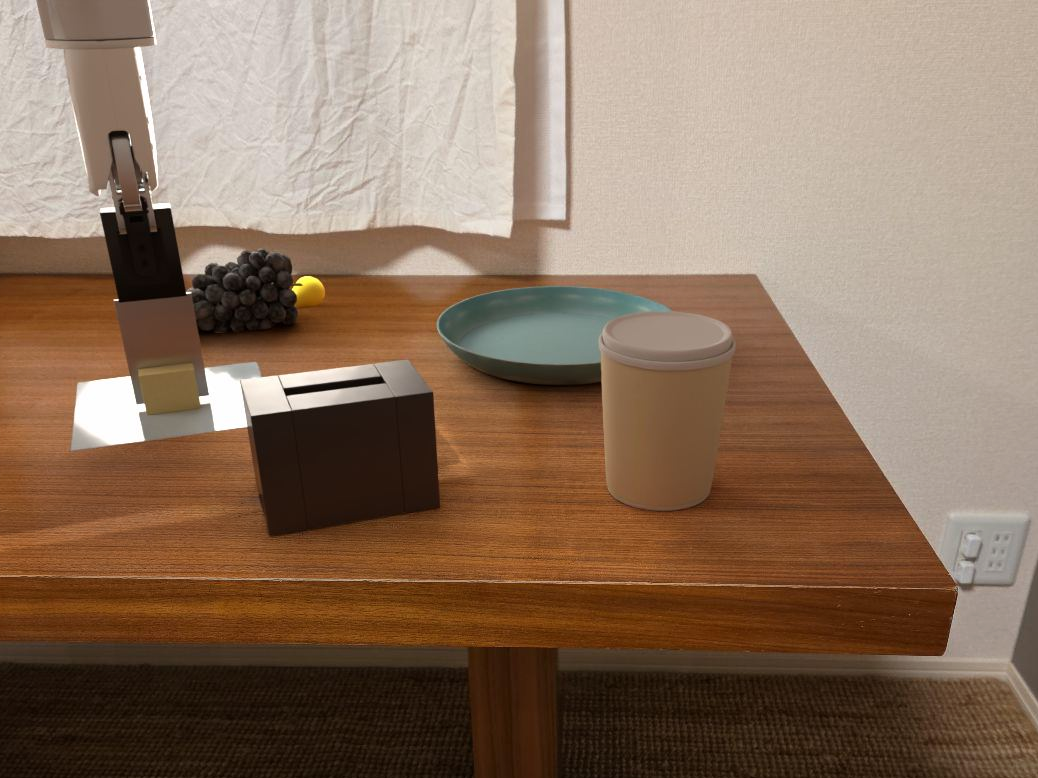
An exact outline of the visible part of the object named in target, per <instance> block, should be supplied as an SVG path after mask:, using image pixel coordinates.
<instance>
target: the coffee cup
mask: <svg viewBox="0 0 1038 778" xmlns="http://www.w3.org/2000/svg"><path fill="white" fill-rule="evenodd" d="M736 347H737V343H736V339H735V338H734V336H733V331H732V330H731V328H730V327H729V326H728V325H727V324H726V323H724V322H722V321H720V320H718V319H717V318H713V317H710V316H706V315H703V314H697V313H691V312H685V311H673V310H672V311H652V312H640V313H633V314H628V315H624V316H621V317H618V318H615V319H613V320H611V321H610V322H608V323H607V324H606V325H605V327H604V329H603V333H602V334H601V335H600V337H599V349H600V351H601V380H602V382H601V403H602V405H601V406H602V422H603V423H602V425H603V426H602V427H603V446H604V447H603V448H604V466H605V482H606V488H607V490H608V492H609V494H610V495H611V496H612V497H613V498H614V499H615V500H617V501H618V502H620V503H622V504H625V505H626V506H629V507H633V508H636V509H640V510H644V511H645V510H646V511H653V512H654V511H656V512H657V511H658V512H670V511H679V510H685V509H689V508H692V507H695V506H697V505H699V504H701V503H703V502H704V501H705V500H706V499H707V498H708V497H709V495H710V494H711V490H712V485H713V481H714V475H715V469H716V463H717V458H718V457H717V456H718V451H719V446H720V440H721V439H720V438H721V433H722V426H723V421H724V420H723V419H724V415H725V409H726V402H727V394H728V390H729V389H728V388H729V383H730V378H731V377H730V376H731V369H732V363H733V356H734V355H735V352H736Z"/></svg>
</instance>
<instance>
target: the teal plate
mask: <svg viewBox="0 0 1038 778" xmlns="http://www.w3.org/2000/svg"><path fill="white" fill-rule="evenodd" d="M652 311H673V309H671V308H669V307H668V306H666V305H664V304H662V303H660V302H658V301H656V300H653V299H650V298H648V297H644V296H641V295H637V294H633V293H629V292H623V291H618V290H614V289H607V288H599V287H589V286H577V285H574V286H573V285H541V286H527V287H515V288H507V289H499V290H496V291H490V292H486V293H481V294H477V295H475V296H471V297H468V298H466V299H463V300H461V301H459V302H456V303H454V304H452V305H451V306H449V307H447V308H446V309H444V311H443V312H441V314H440V315H439V316H438V318H437V320H436V329H437V332H438V334H439V336H440V338H441V340H442V341H443V343H444V344H445V345H446V347H447V348H448V349H449V350H450V352H452V353H453V354H454V355H455V356H456V357H458V358H459V359H460V360H461V361H463V362H464V363H466V364H467V365H469V366H471V367H472V368H474V369H476V370H478V371H480V372H482V373H485V374H487V375H489V374H490V376H492V377H495V378H498V379H503V380H506V381H511V382H516V381H517V383H522V382H523V384H530V383H531V385H544V386H578V385H579V386H581V385H589V384H596V383H598V384H599V383H602V380H601V351H600V349H599V337H600V335H601V334H602V333H603V329H604V327H605V325H606V324H607V323H608V322H610V321H611V320H613V319H615V318H618V317H621V316H624V315H628V314H633V313H640V312H652Z"/></svg>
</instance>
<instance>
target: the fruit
mask: <svg viewBox="0 0 1038 778" xmlns="http://www.w3.org/2000/svg"><path fill="white" fill-rule="evenodd" d="M292 273H293V263H292V259H291V257H289V256H288V255H286V254H285V253H280V252H277V251H271V252H270V251H269V250H268V249H266V248H262V247H260V248H258V249H256V250H255V251H251V250H249V249H245V250H243V251H241V253H240V254H239V255H238V257H237V258H236V262H234V261H228V262H227V263H226V264H225V265H220V264H218V263H217V262H210V263H208V264H207V265H206V266H205V267H204V273H197V274H195V275H193V276H192V279H191V285H192V287H189V288H188V289H187V290H186V293H188V292H191V295H192V300H193V306H194V312H195V317H196V323H197V328H198V332H199V331H206V332H208V331H209V332H210V331H212V332H213V333H214V334H215V333H216V334H222V333H228V332H229V331H230V329H231V330H232V331H233V332H236V333H239V332H243V331H244V330H245V329H248V330H250V331H256V330H268V329H272V328H274V327H275V326H276V324H279V323H282V324H283V325H284V326H291V325H293V324H296V322H297V321H298V314H299V312H298V308H296V306H295V303H296V302H297V295H296V294H295V292H294V291H293V290H292V289H291V287H294V286H303V285H302V284H301V283H297V282H294V279H293V276H292Z"/></svg>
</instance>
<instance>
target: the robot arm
mask: <svg viewBox="0 0 1038 778" xmlns="http://www.w3.org/2000/svg"><path fill="white" fill-rule="evenodd" d="M35 1H36V5H37V11H38V14H39V19H40V25H41V28H42V33H43V38H44V42H45V47H46V48H47V49H49V48H50V49H55V50H56V49H57V50H58V49H59V50H63V59H64V65H65V66H64V67H65V71H66V79H67V84H68V90H69V95H70V101H71V106H72V112H73V115H74V120H75V125H76V130H77V134H78V139H79V143H80V148H81V153H82V159H83V162H84V163H83V164H84V168H85V173H86V178H87V184H88V189H89V192H90V193H91V194H92V195H94V196H95V197H100V196H101V191H103V190H107V189H108V184H109V187H110V193H111V199H112V202H113V207H115V212H116V217H117V222H118V226H119V231H120V233H117V236H118V241H119V246H120V251H121V256H122V260H123V265H124V270H125V275H126V280H127V283H128V284H129V285H131V286H136V285H147V284H157V283H166V282H168V281H169V273H168V268H167V262H166V257H165V251H164V246H163V241H162V235H161V230H157V227H156V222H155V216H154V211H153V206H152V204H153V201H152V200H153V199H152V193H153V192H155V191H156V190H157V189H158V187H159V180H158V177H159V176H158V160H157V148H156V138H155V131H154V123H153V116H152V109H151V103H150V95H149V90H148V85H147V79H146V78H147V77H146V74H145V68H144V67H145V66H144V61H143V55H142V49H141V48H143V47H152V46H156V45H158V43H157V37H156V32H155V26H154V21H153V14H152V8H151V3H150V0H35ZM147 216H148V219H147ZM148 222H149V223H148ZM149 227H150V230H149ZM127 232H128V233H127Z"/></svg>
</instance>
